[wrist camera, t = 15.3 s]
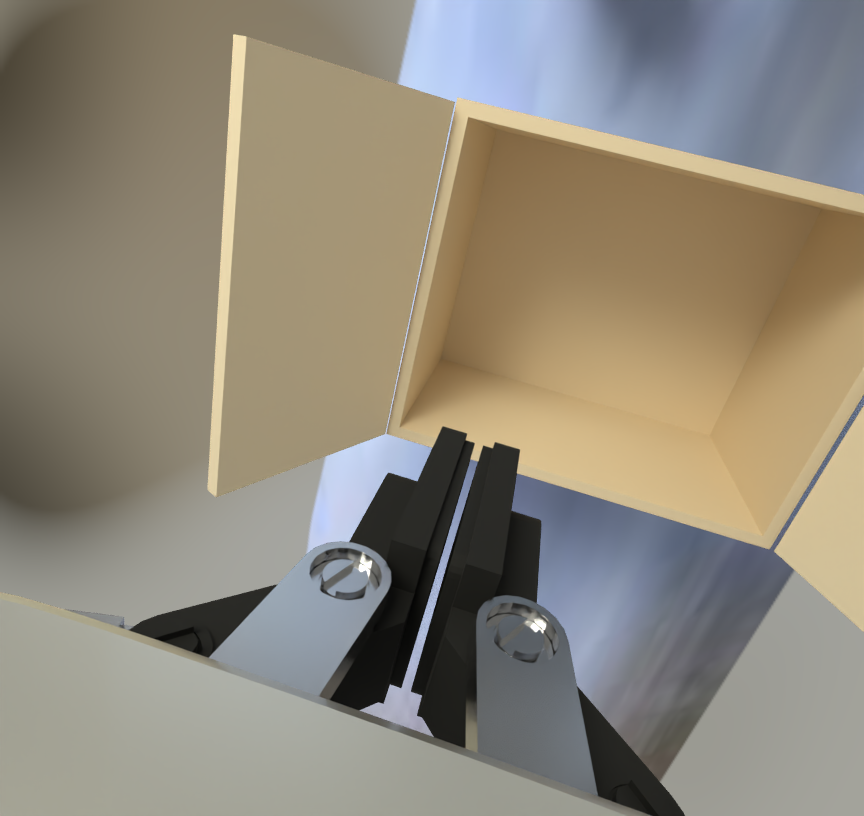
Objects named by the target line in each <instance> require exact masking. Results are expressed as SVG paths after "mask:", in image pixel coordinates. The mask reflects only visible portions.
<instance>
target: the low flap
mask: <svg viewBox="0 0 864 816" xmlns="http://www.w3.org/2000/svg"><path fill="white" fill-rule="evenodd" d="M454 103H455V102H453V101H450V100H447V99H443V98H440V97H437V96H434V95H431V94H427V93H424V92H421V91H418V90H415V89H411V88H408V87H405V86H402V85H399V84H396V83H392V82H389V81H386V80H383V79H380V78H376V77H373V76H370V75H367V74H364V73H360V72H357V71H354V70H351V69H348V68H344V67H341V66H338V65H335V64H331V63H328V62H325V61H322V60H319V59H316V58H313V57H309V56H306V55H303V54H299V53H297V52H294V51H290V50H287V49H284V48H281V47H277V46H274V45H271V44H268V43H265V42H261V41H259V40H255V39H252V38H249V37H245V36H240V35H234V36H233V54H232V71H231V88H230V106H229V123H228V142H227V158H226V176H225V193H224V211H223V228H222V247H221V264H220V282H219V300H218V317H217V335H216V351H215V369H214V388H213V404H212V422H211V439H210V456H209V475H208V490H209V491H210V492H211V493H212V494H213V495H214V496H215V497H218V496H221V495H224V494H226V493H229V492H232V491H235V490H237V489H240V488H242V487H245V486H248V485H250V484H253V483H256V482H258V481H261V480H264V479H266V478H269V477H272V476H274V475H277V474H280V473H282V472H285V471H288V470H290V469H293V468H296V467H298V466H301V465H304V464H306V463H309V462H311V461H314V460H317V459H320V458H322V457H325V456H328V455H330V454H333V453H336V452H338V451H341V450H344V449H346V448H349V447H351V446H354V445H357V444H359V443H362V442H365V441H367V440H370V439H373V438H375V437H378V436H381V435H383V434H385V432H386V427H387V422H388V417H389V413H390V408H391V403H392V398H393V394H394V389H395V384H396V379H397V375H398V370H399V365H400V360H401V356H402V351H403V346H404V341H405V336H406V332H407V327H408V322H409V317H410V313H411V308H412V303H413V298H414V294H415V289H416V284H417V279H418V275H419V270H420V265H421V260H422V256H423V251H424V246H425V241H426V236H427V232H428V227H429V222H430V217H431V213H432V208H433V203H434V198H435V194H436V189H437V184H438V179H439V175H440V170H441V165H442V160H443V156H444V151H445V146H446V141H447V137H448V132H449V127H450V122H451V117H452V113H453V108H454Z"/></svg>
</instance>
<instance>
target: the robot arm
mask: <svg viewBox="0 0 864 816" xmlns="http://www.w3.org/2000/svg"><path fill="white" fill-rule="evenodd" d="M466 437H467V433H464V432H461V431H457V430H454V429H451V428H447V427H444V426H442V428H441V430H440V433H439V435H438V437H437V439H436V442H435V444H434V446H433V448H432V450H431V453H430V455H429V457H428V459H427V462H426V464H425V466H424V468H423V470H422V473H421V475H420V477H419V479H418V482H417V481H414V480H411V479H408V478H404V477H401V476H398V475H395V474H392V473H388V474H387V475H386V477H385V479H384V480H383V482H382V484H381V486H380V488H379V489H378V491H377V493H376V495H375V497H374V498H373V500H372V502H371V504H370V506H369V507H368V509H367V511H366V513H365V515H364V516H363V518H362V520H361V522H360V524H359V525H358V527H357V529H356V531H355V533H354V534H353V536H352V538H351V540H350V541H349V542H342V541H340V542H331V543H326V544H323V545H320V546H318V547H315V548H314V549H313V550H311V551H310V552H309V553H307V554H306V555H305V556H304V557H303V558H302V559H301V561H300V562H299V563H298V564H297V565H296V566H295V567H294V568H293V569H292V570H291V571H290V572H289V573H288V574H287V575H286V577H285V578H284V579H283V580H282V581H281V582H280V583H279V584H277V585H273V586H269V587H265V588H262V589H258V590H254V591H250V592H246V593H242V594H239V595H234V596H231V597H227V598H223V599H219V600H215V601H211V602H208V603H204V604H199V605H196V606H192V607H188V608H184V609H181V610H176V611H172V612H169V613H165V614H161V615H157V616H155V617H152V618H150V619H147V620H144V621H142V622H140V623H139V624H137V625H136V626H127V625H124V617H120V616H113V615H105V614H98V613H90V612H82V611H74V610H67V609H61V608H58V607H54V606H51V605H47V604H44V603H41V602H37V601H33V600H30V599H27V598H23V597H20V596H16V595H11V594H6V593H2V592H0V816H685V815H684V813H683V811H682V810H681V809H680V807H679V806H678V804H677V803H676V801H675V800H674V799H673V797H672V796H671V795H670V793H669V792H668V791H667V790H666V789H665V788H664V786H663V785H662V784H661V783H660V782H659V781H658V779H657V778H656V777H655V776H654V775H653V774H652V772H651V771H650V770H649V769H648V768H647V767H646V765H645V764H644V763H643V762H642V761H641V760H640V758H639V757H638V756H637V755H636V754H635V753H634V752H633V750H632V749H631V748H630V747H629V746H628V745H627V743H626V742H625V741H624V740H623V739H622V738H621V736H620V735H619V734H618V733H617V732H616V731H615V729H614V728H613V727H612V726H611V725H610V724H609V723H608V721H607V720H606V719H605V718H604V717H603V716H602V714H601V713H600V712H599V711H598V710H597V709H596V707H595V706H594V705H593V704H592V703H591V702H590V700H589V699H588V698H587V697H586V696H585V695H584V694H583V692H582V691H581V690H580V689H579V688H578V687H577V684H576V679H575V673H574V668H573V663H572V658H571V652H570V647H569V642H568V639H567V636H566V633H565V631H564V629H563V627H562V626H561V624H560V623H559V622H558V620H557V619H556V618H555V617H554V616H553V615H552V614H551V613H550V612H549V611H547V610H546V609H545V608H544V607H542V606H540V605H538V604H537V588H538V571H539V555H540V538H541V521H540V520H539V519H536V518H532V517H529V516H526V515H523V514H520V513H516V512H513V511H511V509H512V503H513V496H514V489H515V482H516V475H517V469H518V462H519V455H520V449H517V448H514V447H510V446H507V445H504V444H500V443H497V442H495V443H494V446H493V448H490V447H487V446H484V445H483V448H482V451H481V454H480V457H479V461H478V464H477V467H476V470H475V474H474V477H473V480H472V484H471V487H470V490H469V493H468V497H467V500H466V503H465V507H464V510H463V513H462V516H461V520H460V523H459V526H458V530H457V533H456V536H455V539H454V543H453V546H452V549H451V553H450V556H449V560H448V563H447V567H446V570H445V574H444V577H443V581H442V584H441V588H440V591H439V595H438V598H437V602H436V605H435V609H434V612H433V616H432V619H431V623H430V626H429V630H428V633H427V637H426V640H425V644H424V647H423V651H422V654H421V658H420V661H419V665H418V668H417V672H416V675H415V679H414V682H413V686H412V689H411V692H414V693H417V694H419V695H422V698H421V702H420V706H419V710H418V713H417V716H420V717H422V718H423V720H424V721H425V723H426V725H427V726H428V728H429V730H430V731H431V733H432V734H433V736H434V737H432V736H429V735H426V734H423V733H420V732H418V731H415V730H412V729H409V728H406V727H404V726H401V725H398V724H395V723H392V722H390V721H387V720H384V719H381V718H378V717H375V716H373V715H370V714H367V713H364V712H361V711H359V710H361V709H363V708H366V707H368V706H370V705H373V704H375V703H378V702H380V703H383V704H384V701H385V698H386V694H387V691H388V688H389V685H390V684H391V685H394V686H397V687H399V688H401V687H402V684H403V681H404V678H405V674H406V671H407V668H408V664H409V661H410V658H411V655H412V651H413V648H414V645H415V642H416V638H417V635H418V632H419V628H420V625H421V622H422V619H423V615H424V612H425V609H426V606H427V602H428V599H429V596H430V592H431V589H432V586H433V583H434V579H435V576H436V573H437V569H438V566H439V563H440V560H441V556H442V553H443V550H444V546H445V543H446V540H447V536H448V533H449V530H450V526H451V523H452V519H453V516H454V513H455V509H456V506H457V503H458V499H459V496H460V492H461V489H462V486H463V482H464V479H465V476H466V472H467V469H468V466H469V462H470V459H471V455H472V452H473V449H474V445H475V443H474V442H470V441H467V440H466Z"/></svg>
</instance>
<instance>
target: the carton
mask: <svg viewBox="0 0 864 816" xmlns="http://www.w3.org/2000/svg"><path fill="white" fill-rule="evenodd" d="M863 395H864V195H862V194H858V193H854V192H850V191H846V190H842V189H837V188H833V187H829V186H825V185H821V184H816V183H812V182H808V181H804V180H800V179H796V178H791V177H787V176H783V175H779V174H775V173H771V172H766V171H762V170H758V169H754V168H750V167H746V166H741V165H737V164H733V163H729V162H725V161H720V160H716V159H712V158H708V157H704V156H700V155H695V154H691V153H687V152H683V151H679V150H675V149H670V148H666V147H662V146H658V145H654V144H649V143H645V142H641V141H637V140H633V139H629V138H624V137H620V136H616V135H612V134H608V133H604V132H599V131H595V130H591V129H587V128H583V127H579V126H574V125H570V124H566V123H562V122H558V121H553V120H549V119H545V118H541V117H537V116H533V115H528V114H524V113H520V112H516V111H512V110H508V109H503V108H499V107H495V106H491V105H487V104H483V103H478V102H474V101H470V100H466V99H462V98H457V102H456V107H455V112H454V117H453V121H452V126H451V131H450V136H449V140H448V145H447V150H446V154H445V159H444V164H443V169H442V173H441V178H440V183H439V188H438V192H437V197H436V202H435V207H434V211H433V216H432V221H431V225H430V230H429V235H428V240H427V244H426V249H425V254H424V259H423V263H422V268H421V273H420V278H419V282H418V287H417V292H416V296H415V301H414V306H413V311H412V315H411V320H410V325H409V330H408V334H407V339H406V344H405V349H404V353H403V358H402V363H401V367H400V372H399V377H398V382H397V386H396V391H395V396H394V401H393V405H392V410H391V415H390V420H389V424H388V429H387V434H389V435H392V436H395V437H399V438H402V439H405V440H408V441H412V442H415V443H418V444H422V445H425V446H428V447H432V448H433V446H434V444H435V442H436V439H437V437H438V435H439V433H440V430H441V428H442V426H444V427H447V428H451V429H454V430H457V431H461V432H464V433H467V437H466V440H467V441H470V442H474V443H475V445H474V449H473V452H472V455H471V460H475V461H479V457H480V454H481V451H482V448H483V445H484V446H487V447H490V448H493V446H494V443H495V442H497V443H500V444H504V445H507V446H510V447H514V448H517V449H520V455H519V462H518V469H517V473H518V474H521V475H524V476H528V477H531V478H534V479H538V480H541V481H544V482H548V483H551V484H554V485H558V486H561V487H564V488H567V489H571V490H574V491H577V492H581V493H584V494H587V495H591V496H594V497H597V498H601V499H604V500H607V501H611V502H614V503H617V504H620V505H624V506H627V507H630V508H634V509H637V510H640V511H644V512H647V513H650V514H654V515H657V516H660V517H664V518H667V519H670V520H673V521H677V522H680V523H683V524H687V525H690V526H693V527H697V528H700V529H703V530H707V531H710V532H713V533H717V534H720V535H723V536H726V537H730V538H733V539H736V540H740V541H743V542H746V543H750V544H753V545H756V546H760V547H763V548H766V549H770V548H771V546H772V544H773V543H774V541H775V540H776V538H777V536H778V535H779V533H780V531H781V530H782V528H783V526H784V525H785V523H786V521H787V520H788V518H789V517H790V515H791V513H792V512H793V510H794V508H795V507H796V505H797V503H798V502H799V500H800V499H801V497H802V495H803V494H804V492H805V490H806V489H807V487H808V485H809V484H810V482H811V480H812V479H813V477H814V476H815V474H816V472H817V471H818V469H819V467H820V466H821V464H822V462H823V461H824V459H825V457H826V456H827V454H828V453H829V451H830V449H831V448H832V446H833V444H834V443H835V441H836V439H837V438H838V436H839V435H840V433H841V431H842V430H843V428H844V426H845V425H846V423H847V421H848V420H849V418H850V416H851V415H852V413H853V412H854V410H855V408H856V407H857V405H858V403H859V402H860V400H861V398H862V397H863Z"/></svg>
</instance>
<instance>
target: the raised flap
mask: <svg viewBox="0 0 864 816" xmlns="http://www.w3.org/2000/svg"><path fill="white" fill-rule="evenodd" d="M774 552H775V553H776V554H778V555H779V556H780V557H781V558H782V559H783V560H784V561H785V562H786V563H788V564H789V565H790V566H791V567H792V568H793V569H794V570H795V571H796V572H797V573H799V574H800V575H801V576H802V577H803V578H804V579H805V580H806V581H807V582H809V583H810V584H811V585H812V586H813V587H814V588H815V589H816V590H818V591H819V592H820V593H821V594H822V595H823V596H824V597H825V598H826V599H827V600H829V601H830V602H831V603H832V604H833V605H834V606H835V607H836V608H838V609H839V610H840V611H841V612H842V613H843V614H844V615H845V616H846V617H847V618H849V619H850V620H851V621H852V622H853V623H854V624H855V625H856V626H857V627H858V628H860V629H861V630H862V631H863V632H864V406H863V407H862V409H861V411H860V412H859V414H858V416H857V417H856V419H855V420H854V422H853V424H852V425H851V427H850V429H849V430H848V432H847V434H846V435H845V437H844V438H843V440H842V442H841V443H840V445H839V447H838V448H837V450H836V451H835V453H834V455H833V456H832V458H831V460H830V461H829V463H828V464H827V466H826V468H825V469H824V471H823V473H822V474H821V476H820V477H819V479H818V481H817V482H816V484H815V486H814V487H813V489H812V490H811V492H810V494H809V495H808V497H807V499H806V500H805V502H804V503H803V505H802V507H801V508H800V510H799V512H798V513H797V515H796V516H795V518H794V520H793V521H792V523H791V525H790V526H789V528H788V529H787V531H786V533H785V534H784V536H783V538H782V539H781V541H780V542H779V544H778V546H777V547H776V549H775V551H774Z"/></svg>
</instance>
